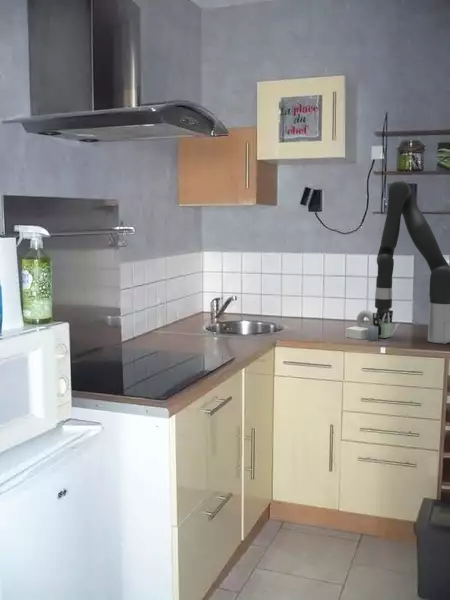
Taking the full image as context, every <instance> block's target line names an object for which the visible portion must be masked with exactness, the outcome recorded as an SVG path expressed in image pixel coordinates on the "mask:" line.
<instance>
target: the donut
mask: <svg viewBox="0 0 450 600" xmlns="http://www.w3.org/2000/svg"><path fill="white" fill-rule="evenodd" d="M373 313H374V312H372V311H371V310H368V309H364V310H361V311H360V312H359V313H358V314H357V316H356V323H357V327H363V328H368V326H373ZM365 318H367V319H368V323H366V322H365ZM375 323H376V321H375Z"/></svg>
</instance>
